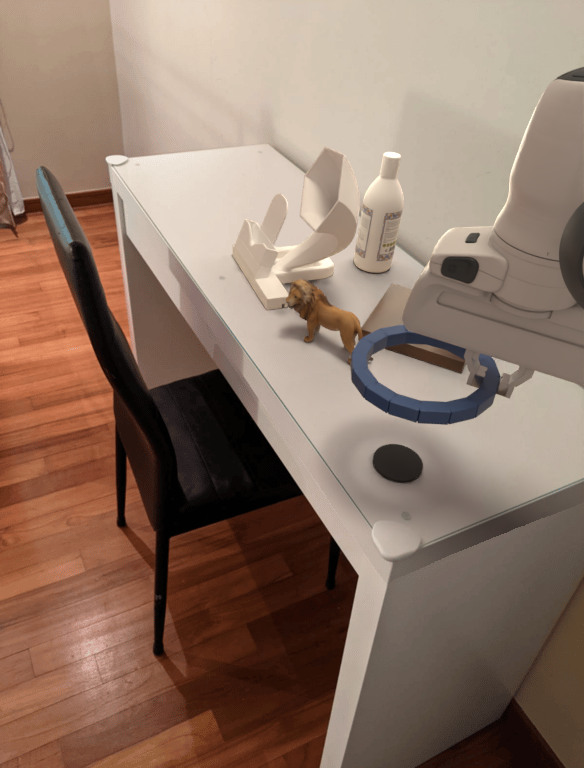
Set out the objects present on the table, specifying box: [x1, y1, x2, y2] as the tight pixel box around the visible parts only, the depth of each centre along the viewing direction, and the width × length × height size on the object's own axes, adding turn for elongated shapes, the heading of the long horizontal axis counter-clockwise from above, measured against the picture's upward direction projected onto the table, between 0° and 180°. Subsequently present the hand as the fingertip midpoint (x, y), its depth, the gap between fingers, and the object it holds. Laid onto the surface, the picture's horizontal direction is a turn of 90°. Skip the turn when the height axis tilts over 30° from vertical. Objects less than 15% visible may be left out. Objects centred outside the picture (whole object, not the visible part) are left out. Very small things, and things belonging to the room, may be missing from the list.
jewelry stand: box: [231, 146, 361, 311], centre depth 96 cm, size 25×16×25 cm, turn 21°
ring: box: [349, 325, 502, 426], centre depth 64 cm, size 15×15×2 cm
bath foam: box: [353, 151, 405, 274], centre depth 105 cm, size 7×7×20 cm
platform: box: [357, 282, 466, 374], centre depth 94 cm, size 16×16×6 cm
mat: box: [372, 443, 424, 484], centre depth 73 cm, size 6×6×1 cm
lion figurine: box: [285, 279, 374, 365], centre depth 88 cm, size 15×5×9 cm, turn 60°
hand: (488, 388), depth 62 cm, fingers closed on ring, 2 cm apart
